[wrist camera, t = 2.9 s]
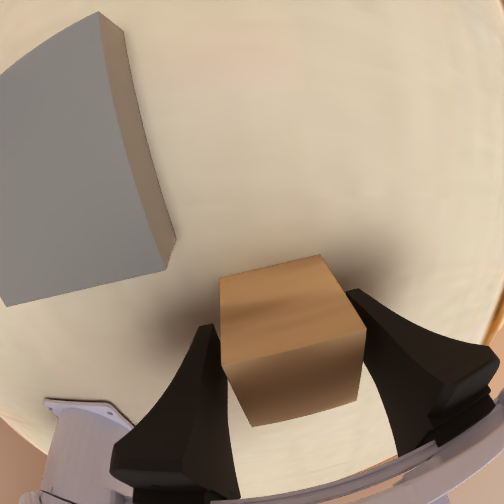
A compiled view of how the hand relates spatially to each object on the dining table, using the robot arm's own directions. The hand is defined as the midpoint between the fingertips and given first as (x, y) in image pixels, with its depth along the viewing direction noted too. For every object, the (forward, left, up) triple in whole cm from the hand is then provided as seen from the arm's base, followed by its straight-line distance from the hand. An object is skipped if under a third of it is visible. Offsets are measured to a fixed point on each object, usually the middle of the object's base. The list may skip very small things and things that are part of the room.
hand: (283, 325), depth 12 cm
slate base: (+9, +8, -1) cm, 12 cm away
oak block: (0, 0, -2) cm, 2 cm away
